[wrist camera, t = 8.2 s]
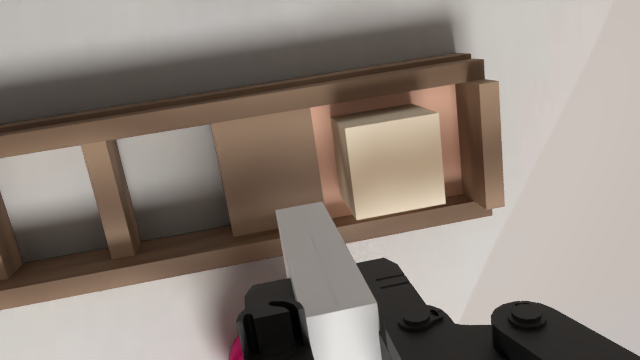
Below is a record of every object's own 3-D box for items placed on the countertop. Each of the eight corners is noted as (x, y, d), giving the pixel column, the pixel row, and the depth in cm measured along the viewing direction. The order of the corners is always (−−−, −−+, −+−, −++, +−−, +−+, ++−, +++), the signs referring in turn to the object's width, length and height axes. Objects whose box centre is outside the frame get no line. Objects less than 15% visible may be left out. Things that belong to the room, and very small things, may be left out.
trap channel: (-42, 131, 27) (-100, 149, 23) (456, 53, 30) (497, 55, 25) (11, 287, 30) (-33, 334, 25) (466, 201, 33) (505, 228, 28)
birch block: (330, 116, 28) (344, 128, 24) (411, 103, 28) (438, 112, 25) (340, 196, 29) (356, 220, 25) (418, 183, 30) (445, 203, 26)
